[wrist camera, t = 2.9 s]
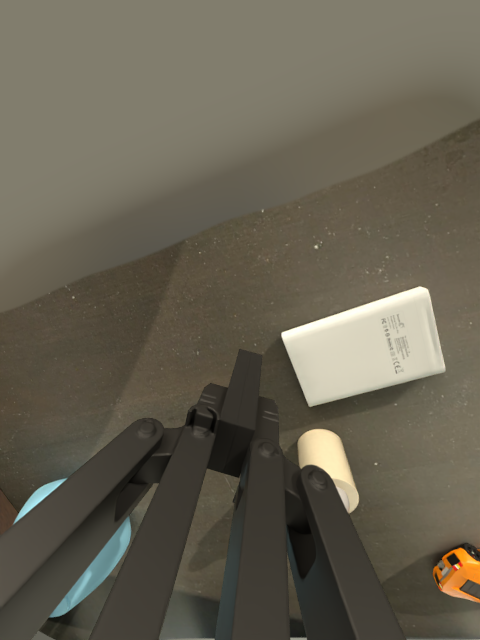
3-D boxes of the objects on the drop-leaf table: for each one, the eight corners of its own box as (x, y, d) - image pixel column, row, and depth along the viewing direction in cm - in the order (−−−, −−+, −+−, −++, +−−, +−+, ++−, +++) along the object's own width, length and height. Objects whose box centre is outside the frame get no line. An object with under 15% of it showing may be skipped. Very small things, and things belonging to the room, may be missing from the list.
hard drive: (281, 330, 25) (419, 285, 22) (307, 398, 27) (436, 365, 24) (281, 337, 24) (429, 289, 21) (309, 408, 26) (447, 374, 23)
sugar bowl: (33, 513, 41) (-55, 617, 30) (54, 453, 35) (-44, 553, 24) (119, 555, 41) (64, 671, 31) (152, 502, 36) (99, 620, 25)
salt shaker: (313, 421, 28) (327, 488, 21) (352, 442, 29) (378, 516, 21) (288, 450, 30) (292, 521, 23) (325, 469, 30) (341, 546, 23)
